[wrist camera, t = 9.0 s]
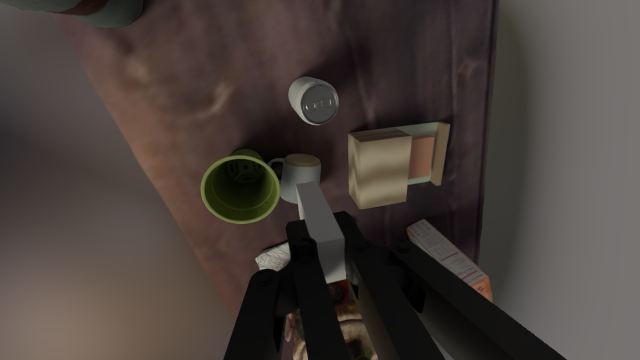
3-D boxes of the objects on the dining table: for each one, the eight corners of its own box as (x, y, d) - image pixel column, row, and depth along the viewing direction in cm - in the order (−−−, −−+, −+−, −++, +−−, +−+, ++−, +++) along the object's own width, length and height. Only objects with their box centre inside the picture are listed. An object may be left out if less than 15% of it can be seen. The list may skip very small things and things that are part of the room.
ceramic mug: (317, 151, 52) (326, 165, 45) (314, 188, 55) (321, 205, 48) (264, 150, 49) (264, 163, 42) (264, 188, 53) (264, 206, 46)
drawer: (393, 127, 53) (401, 130, 50) (440, 121, 55) (450, 124, 52) (390, 186, 59) (396, 192, 56) (432, 179, 61) (440, 184, 58)
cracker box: (435, 252, 72) (497, 317, 53) (416, 261, 72) (472, 331, 53) (425, 216, 65) (491, 277, 47) (404, 226, 65) (462, 292, 47)
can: (285, 79, 45) (293, 84, 34) (320, 73, 46) (339, 77, 35) (291, 115, 48) (301, 131, 37) (324, 110, 48) (343, 123, 38)
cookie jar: (369, 283, 71) (443, 429, 43) (286, 316, 70) (307, 491, 41) (352, 214, 60) (436, 350, 32) (252, 251, 58) (247, 430, 30)
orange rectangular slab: (434, 136, 53) (428, 134, 55) (408, 140, 52) (403, 138, 54) (429, 175, 57) (424, 172, 59) (405, 179, 56) (400, 176, 58)
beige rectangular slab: (348, 132, 51) (360, 142, 45) (393, 127, 53) (411, 135, 47) (349, 193, 57) (360, 209, 51) (390, 186, 59) (405, 201, 53)
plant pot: (250, 123, 46) (248, 140, 36) (287, 171, 52) (294, 197, 42) (198, 159, 47) (182, 185, 37) (240, 203, 53) (236, 236, 43)
